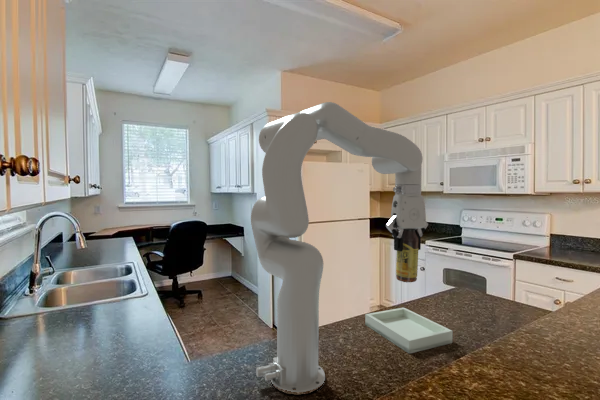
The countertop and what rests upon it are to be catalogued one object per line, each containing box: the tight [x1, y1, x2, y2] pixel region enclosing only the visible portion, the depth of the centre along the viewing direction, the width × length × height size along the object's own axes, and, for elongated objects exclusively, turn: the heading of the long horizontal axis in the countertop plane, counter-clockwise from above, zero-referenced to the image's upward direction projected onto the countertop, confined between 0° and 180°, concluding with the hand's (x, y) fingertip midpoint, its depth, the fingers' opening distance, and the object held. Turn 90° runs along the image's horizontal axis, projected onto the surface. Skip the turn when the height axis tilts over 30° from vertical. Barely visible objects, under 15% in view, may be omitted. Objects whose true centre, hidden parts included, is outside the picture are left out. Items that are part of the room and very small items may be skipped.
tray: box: [364, 307, 454, 355], centre depth 95 cm, size 16×20×4 cm
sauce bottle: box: [395, 229, 419, 283], centre depth 95 cm, size 7×6×20 cm
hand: (407, 249), depth 95 cm, fingers closed on sauce bottle, 6 cm apart
